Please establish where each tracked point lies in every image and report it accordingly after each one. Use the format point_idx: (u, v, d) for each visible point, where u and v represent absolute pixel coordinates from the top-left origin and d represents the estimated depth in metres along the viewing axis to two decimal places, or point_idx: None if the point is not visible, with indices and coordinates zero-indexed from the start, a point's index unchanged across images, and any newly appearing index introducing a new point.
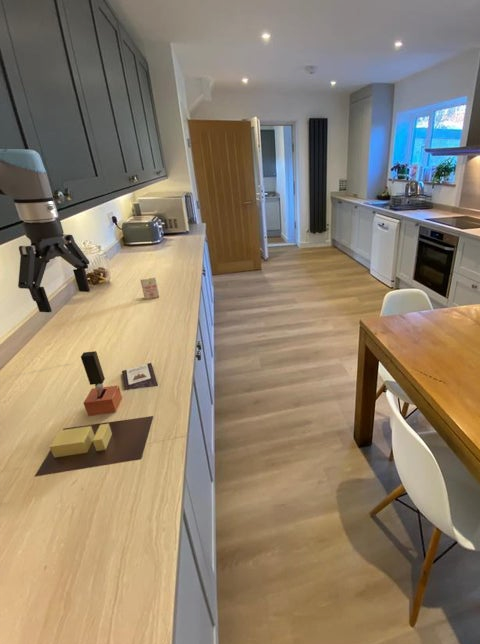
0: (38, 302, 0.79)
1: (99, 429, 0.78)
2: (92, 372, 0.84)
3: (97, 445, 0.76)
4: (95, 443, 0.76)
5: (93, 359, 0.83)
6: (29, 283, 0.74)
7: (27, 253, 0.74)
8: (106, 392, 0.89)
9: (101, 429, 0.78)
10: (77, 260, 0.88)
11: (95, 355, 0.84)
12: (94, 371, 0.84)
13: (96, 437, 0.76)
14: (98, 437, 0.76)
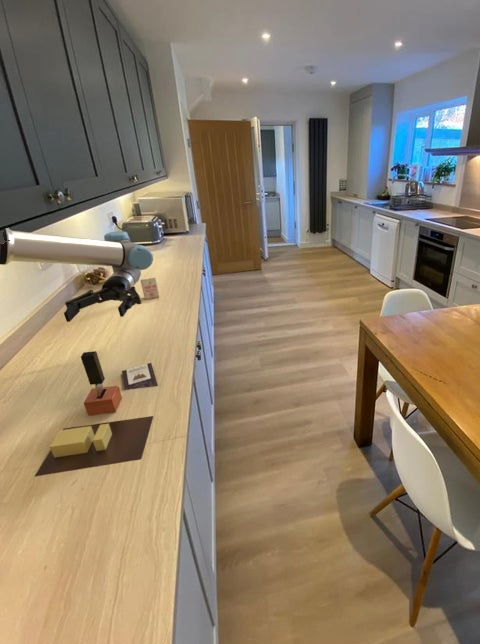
0: (124, 305, 0.91)
1: (99, 429, 0.78)
2: (92, 372, 0.84)
3: (97, 445, 0.76)
4: (95, 443, 0.76)
5: (93, 359, 0.83)
6: None
7: None
8: (106, 392, 0.89)
9: (101, 429, 0.78)
10: None
11: (95, 355, 0.84)
12: (94, 371, 0.84)
13: (96, 437, 0.76)
14: (98, 437, 0.76)
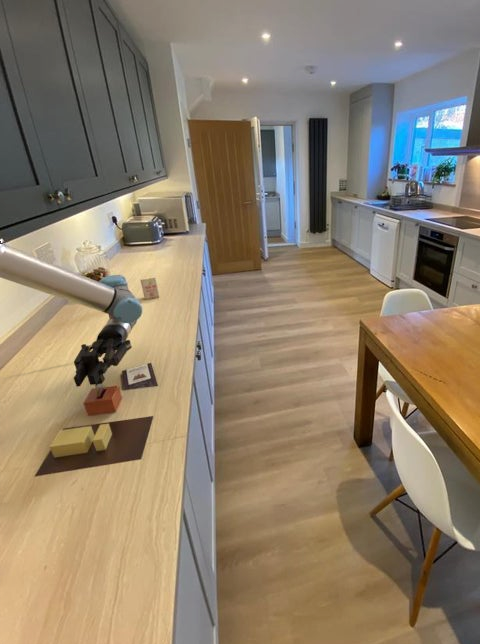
0: (97, 371, 0.82)
1: (99, 429, 0.78)
2: None
3: (97, 445, 0.76)
4: (95, 443, 0.76)
5: (93, 359, 0.83)
6: None
7: (128, 348, 0.95)
8: (106, 392, 0.89)
9: (101, 429, 0.78)
10: None
11: (95, 355, 0.84)
12: None
13: (96, 437, 0.76)
14: (98, 437, 0.76)
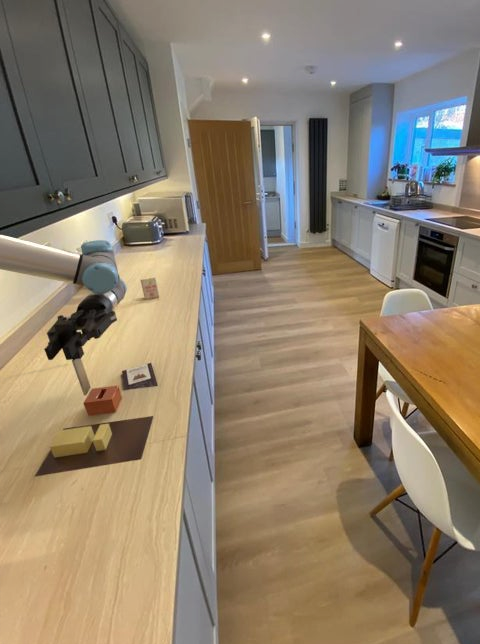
0: (74, 342, 0.70)
1: (99, 429, 0.78)
2: None
3: (97, 445, 0.76)
4: (95, 443, 0.76)
5: (69, 328, 0.70)
6: None
7: (113, 320, 0.82)
8: (106, 392, 0.89)
9: (101, 429, 0.78)
10: None
11: (71, 324, 0.71)
12: None
13: (96, 437, 0.76)
14: (98, 437, 0.76)
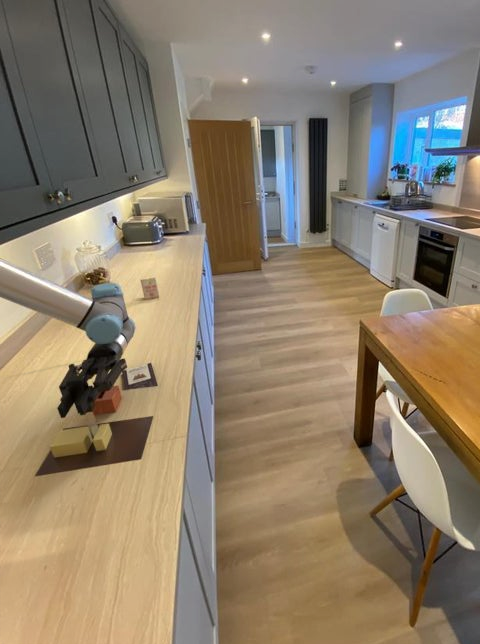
0: (86, 399, 0.70)
1: (99, 429, 0.78)
2: None
3: (97, 445, 0.76)
4: (95, 443, 0.76)
5: (81, 384, 0.71)
6: None
7: (123, 368, 0.83)
8: (106, 392, 0.89)
9: (101, 429, 0.78)
10: None
11: (83, 380, 0.71)
12: None
13: (96, 437, 0.76)
14: (98, 437, 0.76)
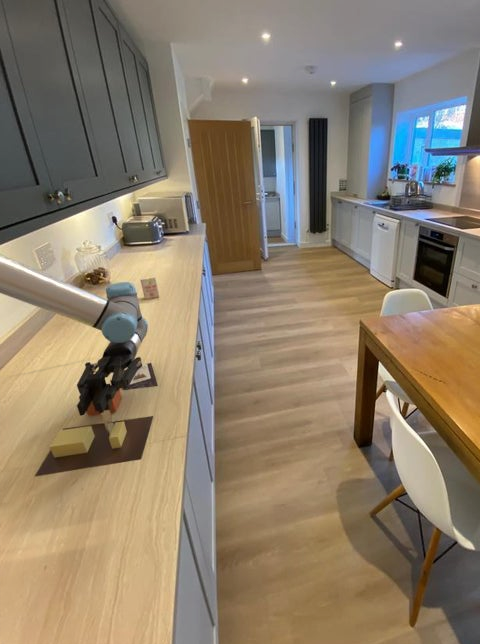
0: (104, 397, 0.71)
1: (115, 427, 0.79)
2: (98, 397, 0.73)
3: (113, 443, 0.77)
4: (111, 441, 0.76)
5: (100, 383, 0.71)
6: None
7: (138, 366, 0.83)
8: None
9: (117, 427, 0.79)
10: None
11: (102, 378, 0.72)
12: None
13: (112, 435, 0.77)
14: (114, 435, 0.77)
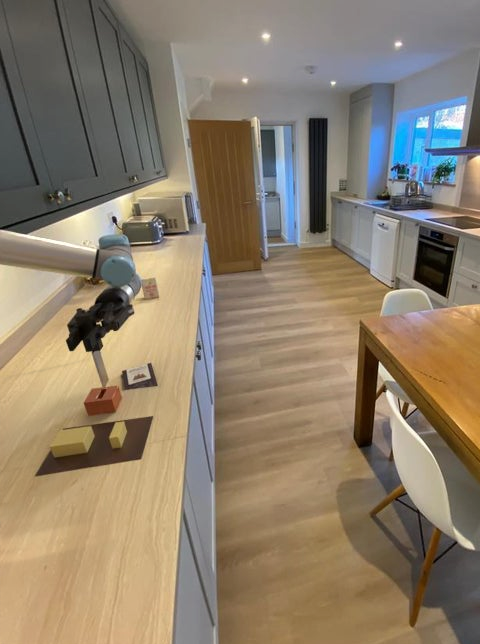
0: (94, 334, 0.70)
1: (115, 427, 0.79)
2: None
3: (113, 443, 0.77)
4: (111, 441, 0.76)
5: (89, 320, 0.70)
6: None
7: (130, 313, 0.83)
8: (106, 392, 0.89)
9: (117, 427, 0.79)
10: None
11: (91, 316, 0.71)
12: None
13: (112, 435, 0.77)
14: (114, 435, 0.77)
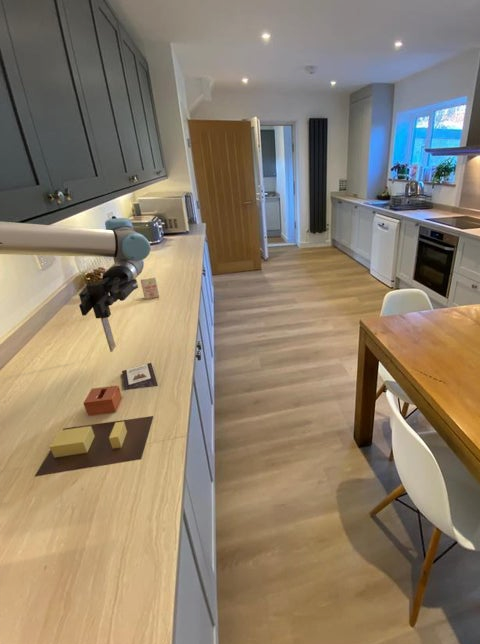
0: (103, 301, 0.79)
1: (115, 427, 0.79)
2: None
3: (113, 443, 0.77)
4: (111, 441, 0.76)
5: (99, 289, 0.80)
6: None
7: (134, 287, 0.92)
8: (106, 392, 0.89)
9: (117, 427, 0.79)
10: None
11: (101, 286, 0.80)
12: None
13: (112, 435, 0.77)
14: (114, 435, 0.77)
